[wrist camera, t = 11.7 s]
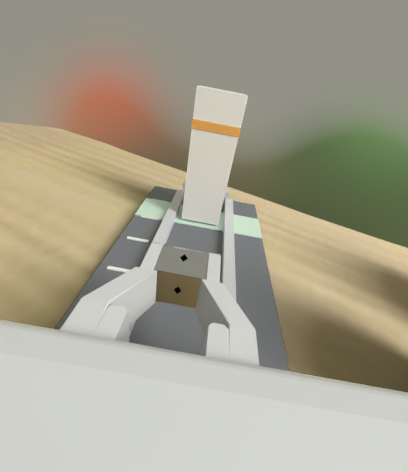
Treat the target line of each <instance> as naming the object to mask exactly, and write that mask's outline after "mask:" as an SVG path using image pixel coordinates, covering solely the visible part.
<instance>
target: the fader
mask: <svg viewBox="0 0 408 472" xmlns="http://www.w3.org/2000/svg"><path fill="white" fill-rule="evenodd" d="M247 98H248V96H247V95H246V94H241V93H236V92H230V91H225V90H221V89H215V88H210V87H205V86H197V89H196V98H195V106H194V115H193V119H192V126H191V127H192V133H191V141H190V149H189V159H188V167H187V175H186V184H185V193H184V201H183V210H182V219H187V220H192V221H197V222H203V223H208V224H213V225H218V222H219V217H220V213H221V209H222V205H223V200H224V196H225V192H226V188H227V183H228V179H229V175H230V171H231V166H232V162H233V158H234V154H235V149H236V145H237V141H238V137H239V135H240V131H241V124H242V119H243V116H244V111H245V107H246V103H247Z"/></svg>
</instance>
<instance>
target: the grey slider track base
mask: <svg viewBox="0 0 408 472" xmlns="http://www.w3.org/2000/svg"><path fill="white" fill-rule="evenodd" d="M185 184H186V181H184V183H183V191H182V190H173V189H168V188H162V187H157V186H155V187H154V189H153V190H152V192H151V193H150V194H149V196H148V197H147V198H146V199H145V201H144V202H143V203H142V205H141V206H140V208H139V209H138V210H137V212H136V213H135V216H134V217H133V218H132V220H131V221H130V223H129V224H128V226H127V227H126V228H125V230H124V231H123V233H122V234H121V235H120V237H119V238H118V240H117V241H116V243H115V244H114V245H113V247H112V248H111V250H110V251H109V252H108V254H107V255H106V257H105V258H104V260H103V261H102V262H101V264H100V265H99V267H98V268H97V269H96V271H95V272H94V274H93V275H92V277H91V278H90V279H89V281H88V282H87V284H86V285H85V286H84V288H83V289H82V291H81V292H80V294H79V295H78V296H77V298H76V299H75V301H74V302H73V303H72V305H71V306H70V308H69V309H68V311H67V312H66V313H65V315H64V316H63V318H62V319H61V320H60V322H59V323H58V325H57V326H56V328H55V329H57V330H60V329H61V327H62V326H63V324H64V323H65V321H66V320H67V318H68V317H69V316H70V314H71V313H72V311H73V310H74V308H75V307H76V305H77V304H78V302H79V301H80V300H81V298H82V297H84V296H85V295H87V294H89V293H91V292H92V291H94V290H96V289H98V288H99V287H101V286H103V285H105V284H106V283H108V282H110V281H112V280H113V279H115V278H117V277H119V276H120V275H122V274H124V273H126V272H127V271H129V270H131V269H133V268H135V267H140V265H141V263H142V261H143V259H144V257H145V255H146V253H147V251H148V249H149V246H150V244H151V243H152V242H157V243H162V244H167V245H172V246H176V247H181V248H186V249H191V250H196V251H202V252H207V253H215V254H220V255H221V263H220V282H221V283H223V284H224V285H225V286H226V288H227V289H228V291H229V292H230V294H231V295H232V297H233V298H234V299H235V301H236V302H237V304H238V305H239V307H240V308H241V309H242V311H243V312H244V314H245V315H246V317H247V318H248V320H249V321H250V322H251V324H252V325H253V327H254V328H255V330H256V338H257V348H258V357H259V366H263V367H269V368H275V369H280V370H286V371H289V366H288V362H287V357H286V352H285V347H284V343H283V338H282V333H281V328H280V323H279V319H278V314H277V309H276V304H275V299H274V295H273V290H272V285H271V280H270V276H269V271H268V266H267V261H266V256H265V252H264V247H263V242H262V235H261V230H260V225H259V221H258V218H257V213H256V209H255V205H252V204H247V203H242V202H236V201H233V200H229V199H228V196H229V189H226V192H225V196H224V200H223V205H222V209H221V213H220V217H219V222H218V225H213V224H208V223H203V222H197V221H192V220H187V219H182V210H183V201H184V193H185ZM205 336H206V335H205V332H204V330H203V327H202V325H201V323H200V320H199V318H198V316H197V313H196V311H195V308H190V307H186V306H181V305H176V304H170V303H164V302H157V301H155V303H154V304H153V305H152V306H151V307H150V308H149V309H148V310H147V311H145V312H144V313H143V314H142V315H141V316H140V317H139V318H138V319H137V320H136V321H134V322H133V323H132V324H131V325H130V326H129V339H130V343H135V344H141V345H146V346H152V347H157V348H163V349H169V350H174V351H180V352H185V353H191V354H197V355H199V354H200V351H201V348H202V345H203V342H204V339H205Z"/></svg>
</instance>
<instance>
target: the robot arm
mask: <svg viewBox="0 0 408 472" xmlns="http://www.w3.org/2000/svg"><path fill="white" fill-rule="evenodd" d="M220 263H221V255H220V254H215V253H207V252H202V251H196V250H191V249H186V248H181V247H176V246H172V245H167V244H162V243H157V242H152V243H151V244H150V246H149V249H148V251H147V253H146V255H145V257H144V259H143V261H142V263H141V265H140V267H135V268H133V269H131V270H129V271H127V272H126V273H124V274H122V275H120V276H119V277H117V278H115V279H113V280H112V281H110V282H108V283H106V284H105V285H103V286H101V287H99V288H98V289H96V290H94V291H92V292H91V293H89V294H87V295H85V296H84V297H82V298H81V300H80V301H79V302H78V304H77V305H76V307H75V308H74V310H73V311H72V313H71V314H70V316H69V317H68V318H67V320H66V321H65V323H64V324H63V326H62V327H61V329H60V330H57V329H51V328H46V327H40V326H35V325H29V324H24V323H18V322H13V321H7V320H1V319H0V472H408V392H403V391H397V390H392V389H386V388H380V387H375V386H369V385H364V384H358V383H353V382H347V381H341V380H336V379H330V378H325V377H319V376H314V375H308V374H302V373H297V372H291V371H286V370H280V369H275V368H269V367H263V366H259V357H258V348H257V338H256V330H255V328H254V327H253V325H252V324H251V322H250V321H249V320H248V318H247V317H246V315H245V314H244V312H243V311H242V309H241V308H240V307H239V305H238V304H237V302H236V301H235V299H234V298H233V297H232V295H231V294H230V292H229V291H228V289H227V288H226V286H225V285H224V284H223V283H221V282H220ZM155 301H157V302H164V303H170V304H176V305H181V306H186V307H190V308H195V311H196V313H197V316H198V318H199V320H200V323H201V325H202V327H203V330H204V332H205V335H206V336H205V339H204V342H203V345H202V348H201V351H200V354H199V355H197V354H191V353H185V352H180V351H174V350H169V349H163V348H157V347H152V346H146V345H141V344H135V343H130V339H129V326H130V325H131V324H132V323H133V322H134V321H136V320H137V319H138V318H139V317H140V316H141V315H142V314H143V313H144V312H145V311H147V310H148V309H149V308H150V307H151V306H152V305H153V304H154V303H155Z"/></svg>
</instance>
